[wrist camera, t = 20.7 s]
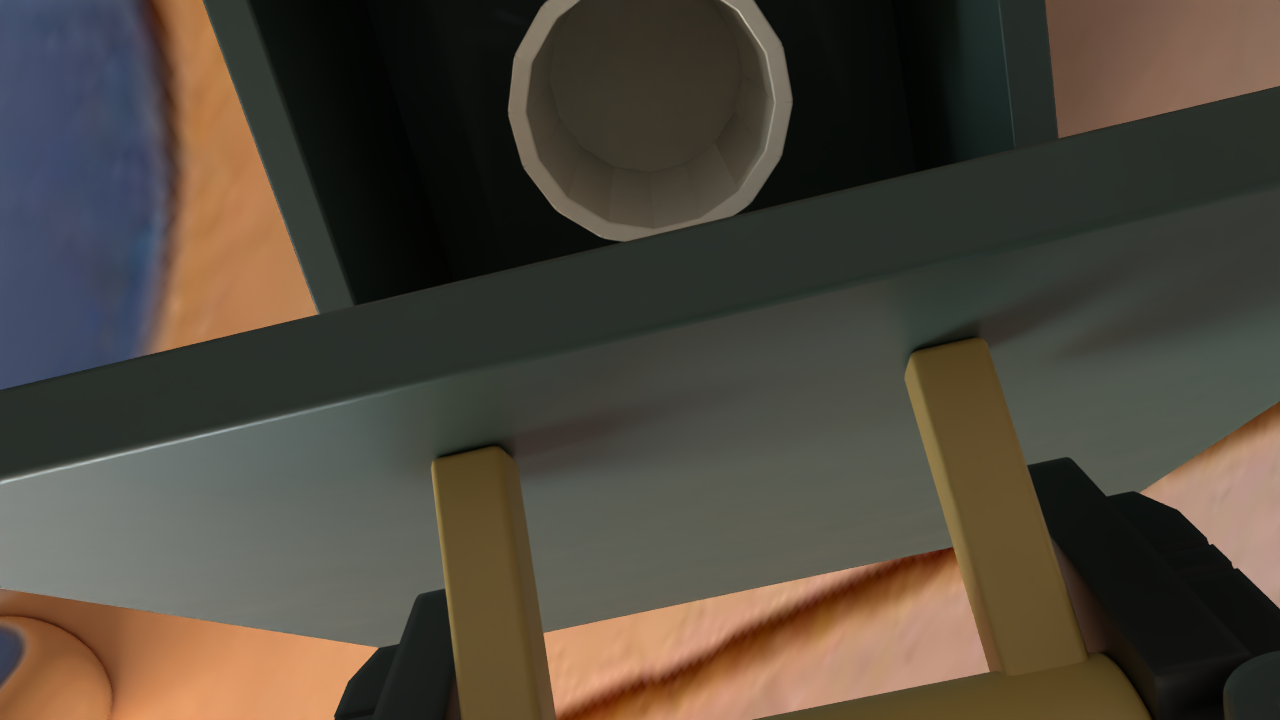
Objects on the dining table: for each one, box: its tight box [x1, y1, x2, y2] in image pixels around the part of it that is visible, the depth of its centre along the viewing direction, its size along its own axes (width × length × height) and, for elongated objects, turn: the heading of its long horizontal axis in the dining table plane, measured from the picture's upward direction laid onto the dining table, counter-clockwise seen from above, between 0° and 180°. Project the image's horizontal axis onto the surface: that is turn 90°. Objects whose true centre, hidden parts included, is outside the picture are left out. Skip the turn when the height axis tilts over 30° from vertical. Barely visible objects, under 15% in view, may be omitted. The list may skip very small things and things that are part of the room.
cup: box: [508, 0, 793, 242], centre depth 26 cm, size 6×6×8 cm
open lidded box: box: [203, 0, 1059, 314], centre depth 26 cm, size 16×16×10 cm
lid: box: [0, 86, 1280, 720], centre depth 15 cm, size 17×16×6 cm
